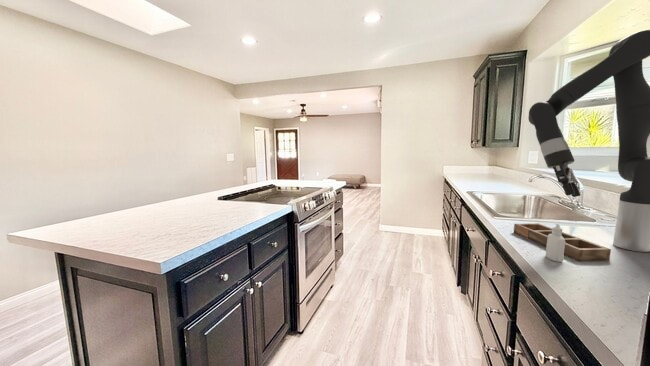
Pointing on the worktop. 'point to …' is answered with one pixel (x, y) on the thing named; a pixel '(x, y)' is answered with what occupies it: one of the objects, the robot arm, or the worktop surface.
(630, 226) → the robot arm
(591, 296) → the worktop surface
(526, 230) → the walnut rack
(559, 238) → the eye dropper bottle
